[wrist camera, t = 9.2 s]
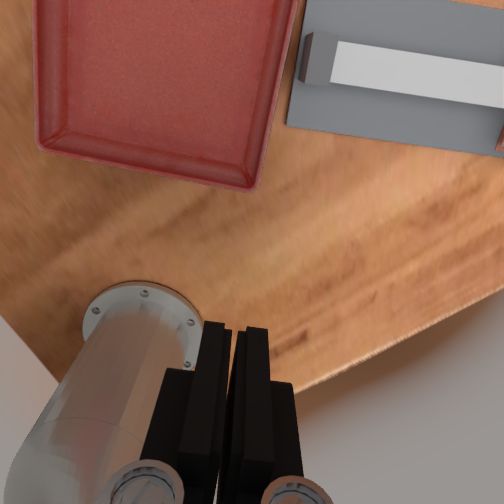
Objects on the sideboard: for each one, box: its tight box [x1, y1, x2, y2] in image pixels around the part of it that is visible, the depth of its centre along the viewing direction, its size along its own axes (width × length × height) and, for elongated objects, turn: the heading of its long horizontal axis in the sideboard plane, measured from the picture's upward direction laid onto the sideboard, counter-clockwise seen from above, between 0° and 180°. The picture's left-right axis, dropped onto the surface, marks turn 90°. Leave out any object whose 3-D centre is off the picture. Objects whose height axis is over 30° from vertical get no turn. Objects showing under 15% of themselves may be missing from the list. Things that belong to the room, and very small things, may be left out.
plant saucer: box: [32, 0, 298, 193], centre depth 30 cm, size 18×18×3 cm
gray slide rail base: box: [285, 0, 504, 158], centre depth 29 cm, size 10×23×6 cm, turn 82°
